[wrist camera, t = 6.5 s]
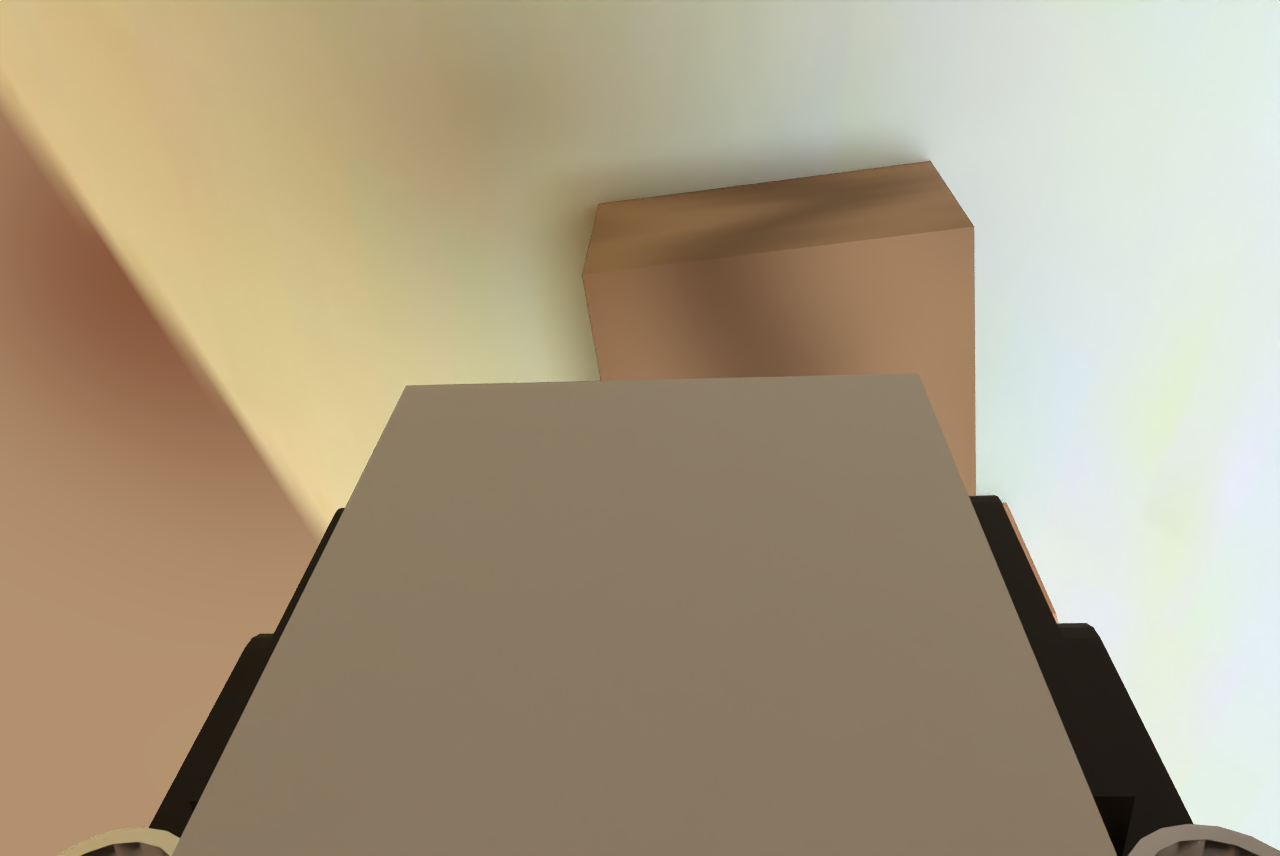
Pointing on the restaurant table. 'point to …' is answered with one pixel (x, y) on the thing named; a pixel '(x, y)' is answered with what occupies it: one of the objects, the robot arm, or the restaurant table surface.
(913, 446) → the grey block
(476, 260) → the restaurant table surface
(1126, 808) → the robot arm
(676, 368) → the walnut block
